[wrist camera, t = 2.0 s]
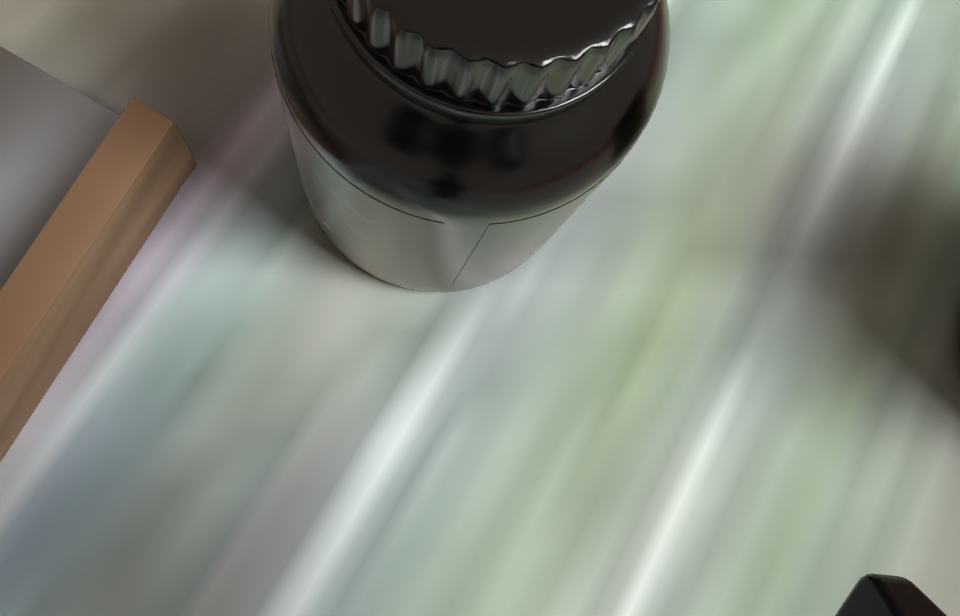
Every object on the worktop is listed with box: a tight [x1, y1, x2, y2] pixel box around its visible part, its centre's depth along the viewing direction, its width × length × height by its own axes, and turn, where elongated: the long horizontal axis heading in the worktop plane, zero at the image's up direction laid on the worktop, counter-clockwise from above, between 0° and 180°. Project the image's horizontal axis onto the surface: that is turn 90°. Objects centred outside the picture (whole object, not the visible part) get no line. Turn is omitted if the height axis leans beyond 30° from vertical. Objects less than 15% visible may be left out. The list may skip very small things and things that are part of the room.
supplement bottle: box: [269, 0, 670, 292], centre depth 17 cm, size 7×7×12 cm
